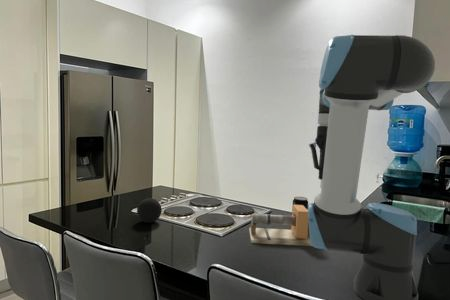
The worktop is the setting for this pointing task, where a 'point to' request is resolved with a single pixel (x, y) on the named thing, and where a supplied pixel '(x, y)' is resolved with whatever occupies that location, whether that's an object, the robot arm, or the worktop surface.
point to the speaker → (149, 210)
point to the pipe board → (275, 230)
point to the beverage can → (300, 201)
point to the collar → (300, 221)
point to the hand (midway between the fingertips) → (323, 188)
